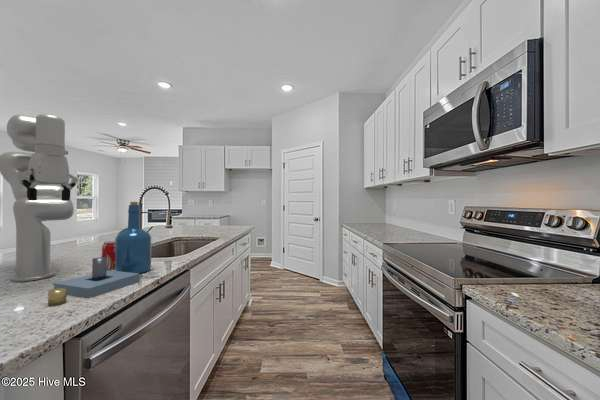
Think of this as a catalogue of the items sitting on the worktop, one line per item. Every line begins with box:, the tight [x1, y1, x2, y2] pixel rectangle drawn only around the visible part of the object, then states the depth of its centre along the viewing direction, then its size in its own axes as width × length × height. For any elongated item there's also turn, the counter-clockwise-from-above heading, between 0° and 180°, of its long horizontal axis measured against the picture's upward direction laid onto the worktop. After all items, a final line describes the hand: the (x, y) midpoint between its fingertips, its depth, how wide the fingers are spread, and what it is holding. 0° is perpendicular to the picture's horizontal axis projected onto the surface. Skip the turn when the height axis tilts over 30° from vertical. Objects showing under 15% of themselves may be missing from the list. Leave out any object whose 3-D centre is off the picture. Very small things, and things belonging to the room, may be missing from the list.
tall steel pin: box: [91, 256, 107, 281], centre depth 94 cm, size 4×4×10 cm
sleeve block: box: [53, 270, 141, 299], centre depth 94 cm, size 16×18×3 cm
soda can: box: [101, 240, 115, 270], centre depth 119 cm, size 7×7×12 cm
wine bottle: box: [114, 201, 152, 275], centre depth 114 cm, size 14×13×30 cm
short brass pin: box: [47, 288, 67, 307], centre depth 78 cm, size 4×4×4 cm
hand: (49, 200), depth 93 cm, fingers open, 9 cm apart
